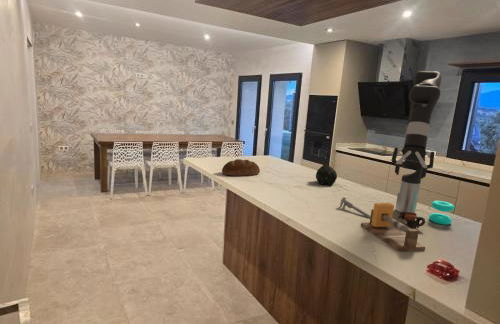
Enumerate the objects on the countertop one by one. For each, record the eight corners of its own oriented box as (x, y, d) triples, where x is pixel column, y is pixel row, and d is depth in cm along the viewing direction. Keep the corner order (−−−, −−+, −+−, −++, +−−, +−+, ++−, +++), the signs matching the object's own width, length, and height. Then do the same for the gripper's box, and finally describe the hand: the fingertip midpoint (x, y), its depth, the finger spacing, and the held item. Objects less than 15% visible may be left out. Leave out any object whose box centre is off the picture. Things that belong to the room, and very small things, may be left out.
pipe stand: (361, 225, 148) (363, 208, 146) (383, 224, 151) (385, 208, 149) (399, 251, 123) (402, 231, 122) (424, 250, 126) (428, 230, 125)
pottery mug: (395, 227, 150) (395, 210, 152) (400, 231, 156) (400, 215, 159) (424, 229, 142) (423, 211, 145) (428, 233, 149) (427, 215, 152)
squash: (338, 175, 230) (326, 158, 228) (342, 180, 215) (329, 163, 213) (322, 186, 233) (310, 170, 231) (325, 192, 218) (312, 175, 216)
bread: (218, 172, 236) (219, 157, 233) (253, 171, 248) (255, 157, 246) (226, 177, 222) (227, 161, 220) (263, 176, 234) (264, 161, 232)
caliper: (339, 207, 174) (341, 196, 173) (341, 207, 174) (342, 196, 173) (372, 219, 158) (374, 207, 156) (373, 219, 158) (375, 207, 157)
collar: (371, 224, 144) (374, 203, 142) (386, 223, 146) (389, 203, 144) (375, 226, 141) (378, 205, 139) (390, 226, 143) (394, 205, 141)
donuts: (459, 207, 154) (437, 205, 155) (455, 226, 156) (433, 224, 157) (448, 201, 164) (428, 199, 165) (445, 219, 166) (425, 217, 167)
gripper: (437, 140, 121) (430, 181, 120) (397, 136, 128) (390, 174, 127) (438, 135, 115) (430, 178, 113) (395, 131, 122) (388, 171, 121)
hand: (409, 176), depth 120 cm, fingers open, 8 cm apart
